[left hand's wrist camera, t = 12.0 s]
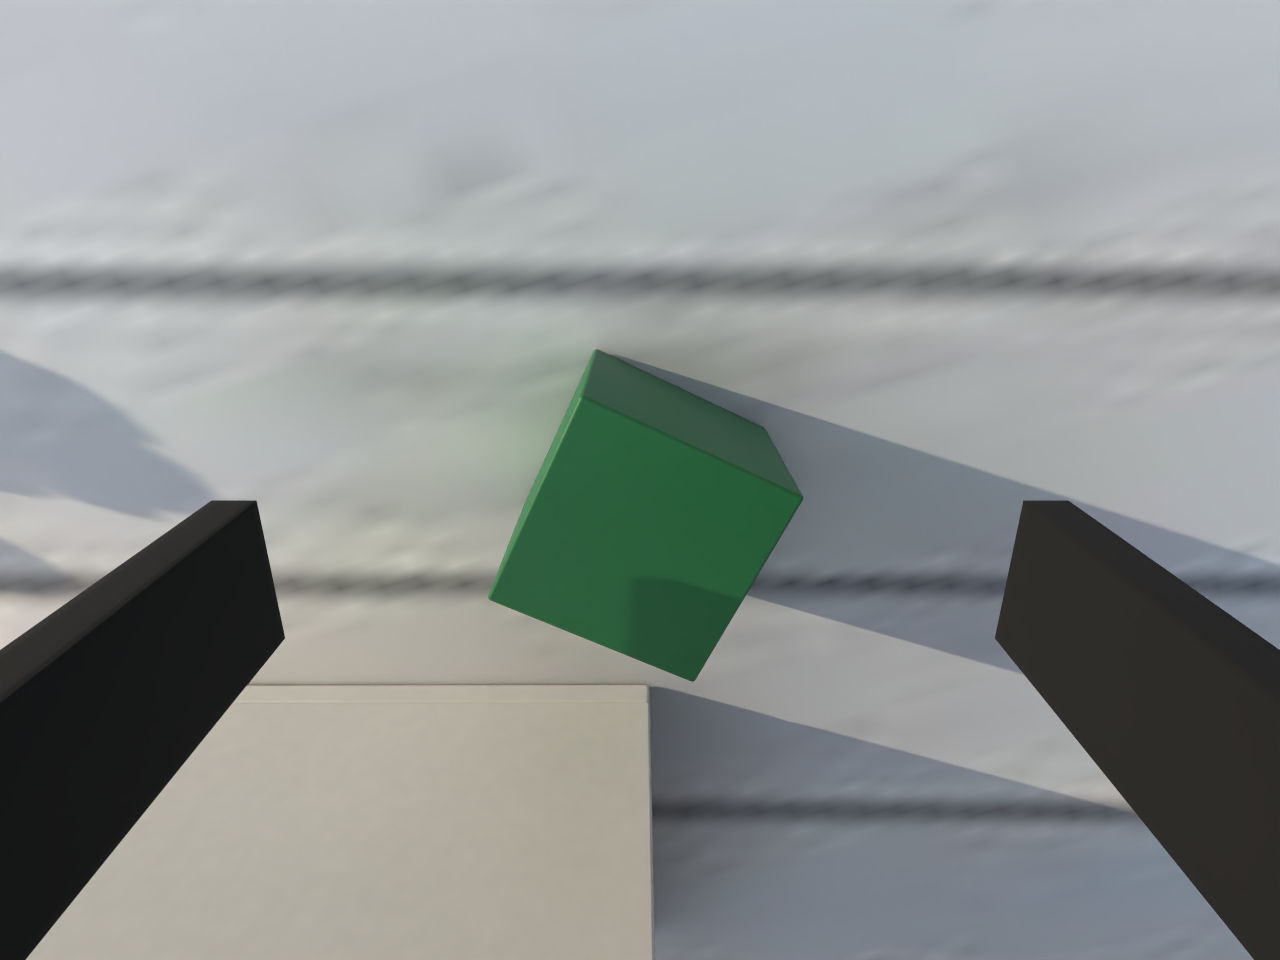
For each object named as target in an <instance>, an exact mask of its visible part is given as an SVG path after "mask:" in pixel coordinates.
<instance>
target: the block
mask: <svg viewBox="0 0 1280 960" xmlns="http://www.w3.org/2000/svg"><path fill="white" fill-rule="evenodd" d="M802 500H803V496H802V494H801V492H800V490H799V489H798V487H797V485H796V483H795V482H794V480H793V478H792V476H791V474H790V473H789V471H788V469H787V467H786V466H785V464H784V462H783V460H782V458H781V457H780V455H779V453H778V451H777V449H776V448H775V446H774V444H773V442H772V441H771V439H770V437H769V435H768V433H767V432H766V430H765V429H764V428H763V427H761V426H759V425H757V424H755V423H753V422H751V421H748V420H746V419H744V418H742V417H740V416H738V415H736V414H734V413H731V412H729V411H727V410H725V409H723V408H721V407H719V406H717V405H714V404H712V403H710V402H708V401H706V400H704V399H702V398H700V397H697V396H695V395H693V394H691V393H689V392H687V391H685V390H683V389H680V388H678V387H676V386H674V385H672V384H670V383H668V382H666V381H663V380H661V379H659V378H657V377H655V376H653V375H651V374H649V373H646V372H644V371H642V370H640V369H638V368H636V367H634V366H632V365H629V364H627V363H625V362H623V361H621V360H619V359H617V358H615V357H612V356H610V355H608V354H606V353H604V352H602V351H600V350H595V351H594V352H593V355H592V357H591V359H590V361H589V363H588V366H587V368H586V370H585V372H584V374H583V377H582V379H581V381H580V383H579V385H578V388H577V390H576V392H575V394H574V397H573V399H572V401H571V403H570V405H569V408H568V410H567V412H566V414H565V416H564V419H563V421H562V423H561V425H560V427H559V430H558V432H557V434H556V436H555V438H554V441H553V443H552V445H551V447H550V449H549V452H548V454H547V456H546V458H545V460H544V463H543V465H542V467H541V469H540V472H539V474H538V476H537V478H536V480H535V483H534V485H533V487H532V489H531V491H530V494H529V496H528V498H527V500H526V502H525V505H524V507H523V509H522V512H521V514H520V517H519V519H518V522H517V524H516V527H515V529H514V532H513V535H512V537H511V540H510V542H509V545H508V547H507V550H506V552H505V555H504V557H503V560H502V563H501V565H500V568H499V570H498V573H497V575H496V578H495V580H494V583H493V585H492V588H491V590H490V593H489V599H490V600H491V601H494V602H496V603H499V604H501V605H504V606H506V607H509V608H511V609H514V610H516V611H518V612H521V613H523V614H526V615H528V616H531V617H533V618H536V619H538V620H541V621H543V622H546V623H548V624H551V625H553V626H556V627H558V628H561V629H563V630H566V631H568V632H570V633H573V634H575V635H578V636H580V637H583V638H585V639H588V640H590V641H593V642H595V643H598V644H600V645H603V646H605V647H608V648H610V649H613V650H615V651H617V652H620V653H622V654H625V655H627V656H630V657H632V658H635V659H637V660H640V661H642V662H645V663H647V664H650V665H652V666H655V667H657V668H660V669H662V670H665V671H667V672H669V673H672V674H674V675H677V676H679V677H682V678H684V679H687V680H689V681H695V679H696V678H697V676H698V674H699V673H700V671H701V669H702V668H703V666H704V664H705V663H706V661H707V659H708V658H709V656H710V654H711V653H712V651H713V649H714V648H715V646H716V644H717V643H718V641H719V639H720V637H721V636H722V634H723V632H724V631H725V629H726V627H727V626H728V624H729V622H730V621H731V619H732V617H733V616H734V614H735V612H736V611H737V609H738V607H739V606H740V604H741V602H742V601H743V599H744V597H745V596H746V594H747V592H748V591H749V589H750V587H751V586H752V584H753V582H754V581H755V579H756V577H757V576H758V574H759V572H760V571H761V569H762V567H763V565H764V564H765V562H766V560H767V559H768V557H769V555H770V554H771V552H772V550H773V549H774V547H775V545H776V544H777V542H778V540H779V539H780V537H781V535H782V534H783V532H784V530H785V529H786V527H787V525H788V524H789V522H790V520H791V519H792V517H793V515H794V514H795V512H796V510H797V509H798V507H799V505H800V504H801V502H802Z"/></svg>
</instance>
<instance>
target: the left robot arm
mask: <svg viewBox="0 0 1280 960" xmlns="http://www.w3.org/2000/svg"><path fill="white" fill-rule="evenodd" d="M284 639H285V636H284V631H283V626H282V621H281V617H280V612H279V607H278V602H277V597H276V593H275V588H274V583H273V578H272V573H271V568H270V564H269V559H268V554H267V549H266V544H265V539H264V535H263V530H262V525H261V520H260V515H259V510H258V506H257V501H211V502H209V503H208V504H206V505H205V506H203V507H202V508H201V509H199V510H198V511H196V512H195V513H194V514H192V515H191V516H189V517H188V518H186V519H185V520H184V521H182V522H181V523H179V524H178V525H177V526H175V527H174V528H172V529H171V530H170V531H168V532H167V533H165V534H164V535H162V536H161V537H160V538H158V539H157V540H155V541H154V542H153V543H151V544H150V545H148V546H147V547H145V548H144V549H143V550H141V551H140V552H138V553H137V554H136V555H134V556H133V557H131V558H130V559H128V560H127V561H126V562H124V563H123V564H121V565H120V566H119V567H117V568H116V569H114V570H113V571H112V572H110V573H109V574H107V575H106V576H104V577H103V578H102V579H100V580H99V581H97V582H96V583H95V584H93V585H92V586H90V587H89V588H87V589H86V590H85V591H83V592H82V593H80V594H79V595H78V596H76V597H75V598H73V599H72V600H70V601H69V602H68V603H66V604H65V605H63V606H62V607H61V608H59V609H58V610H56V611H55V612H54V613H52V614H51V615H49V616H48V617H46V618H45V619H44V620H42V621H41V622H39V623H38V624H37V625H35V626H34V627H32V628H31V629H29V630H28V631H27V632H25V633H24V634H22V635H21V636H20V637H18V638H17V639H15V640H14V641H13V642H11V643H10V644H8V645H7V646H5V647H4V648H3V649H1V650H0V960H26V959H27V957H28V956H29V955H30V954H31V953H32V951H33V950H34V949H35V948H36V946H37V945H38V944H39V943H40V941H41V940H42V939H43V938H44V936H45V935H46V934H47V933H48V931H49V930H50V929H51V928H52V926H53V925H54V924H55V923H56V922H57V920H58V919H59V918H60V917H61V915H62V914H63V913H64V912H65V910H66V909H67V908H68V907H69V905H70V904H71V903H72V902H73V900H74V899H75V898H76V897H77V895H78V894H79V893H80V892H81V891H82V889H83V888H84V887H85V886H86V884H87V883H88V882H89V881H90V879H91V878H92V877H93V876H94V874H95V873H96V872H97V871H98V869H99V868H100V867H101V866H102V864H103V863H104V862H105V861H106V859H107V858H108V857H109V856H110V855H111V853H112V852H113V851H114V850H115V848H116V847H117V846H118V845H119V843H120V842H121V841H122V840H123V838H124V837H125V836H126V835H127V833H128V832H129V831H130V830H131V828H132V827H133V826H134V825H135V824H136V822H137V821H138V820H139V819H140V817H141V816H142V815H143V814H144V812H145V811H146V810H147V809H148V807H149V806H150V805H151V804H152V802H153V801H154V800H155V799H156V797H157V796H158V795H159V794H160V793H161V791H162V790H163V789H164V788H165V786H166V785H167V784H168V783H169V781H170V780H171V779H172V778H173V776H174V775H175V774H176V773H177V771H178V770H179V769H180V768H181V766H182V765H183V764H184V763H185V762H186V760H187V759H188V758H189V757H190V755H191V754H192V753H193V752H194V750H195V749H196V748H197V747H198V745H199V744H200V743H201V742H202V740H203V739H204V738H205V737H206V735H207V734H208V733H209V732H210V731H211V729H212V728H213V727H214V726H215V724H216V723H217V722H218V721H219V719H220V718H221V717H222V716H223V714H224V713H225V712H226V711H227V709H228V708H229V707H230V706H231V704H232V703H233V702H234V701H235V700H236V698H237V697H238V696H239V695H240V693H241V692H242V691H243V690H244V688H245V687H246V686H247V685H248V683H249V682H250V681H251V680H252V678H253V677H254V676H255V675H256V673H257V672H258V671H259V670H260V669H261V667H262V666H263V665H264V664H265V662H266V661H267V660H268V659H269V657H270V656H271V655H272V654H273V652H274V651H275V650H276V649H277V647H278V646H279V645H280V644H281V642H282V641H283V640H284ZM995 639H996V640H997V641H998V642H999V644H1000V645H1001V646H1002V647H1003V649H1004V650H1005V651H1006V652H1007V654H1008V655H1009V656H1010V657H1011V659H1012V660H1013V661H1014V662H1015V664H1016V665H1017V666H1018V667H1019V669H1020V670H1021V671H1022V672H1023V673H1024V675H1025V676H1026V677H1027V678H1028V680H1029V681H1030V682H1031V683H1032V685H1033V686H1034V687H1035V688H1036V690H1037V691H1038V692H1039V693H1040V695H1041V696H1042V697H1043V698H1044V700H1045V701H1046V702H1047V703H1048V704H1049V706H1050V707H1051V708H1052V709H1053V711H1054V712H1055V713H1056V714H1057V716H1058V717H1059V718H1060V719H1061V721H1062V722H1063V723H1064V724H1065V726H1066V727H1067V728H1068V729H1069V731H1070V732H1071V733H1072V734H1073V735H1074V737H1075V738H1076V739H1077V740H1078V742H1079V743H1080V744H1081V745H1082V747H1083V748H1084V749H1085V750H1086V752H1087V753H1088V754H1089V755H1090V757H1091V758H1092V759H1093V760H1094V762H1095V763H1096V764H1097V765H1098V766H1099V768H1100V769H1101V770H1102V771H1103V773H1104V774H1105V775H1106V776H1107V778H1108V779H1109V780H1110V781H1111V783H1112V784H1113V785H1114V786H1115V788H1116V789H1117V790H1118V791H1119V793H1120V794H1121V795H1122V796H1123V797H1124V799H1125V800H1126V801H1127V802H1128V804H1129V805H1130V806H1131V807H1132V809H1133V810H1134V811H1135V812H1136V814H1137V815H1138V816H1139V817H1140V819H1141V820H1142V821H1143V822H1144V824H1145V825H1146V826H1147V827H1148V828H1149V830H1150V831H1151V832H1152V833H1153V835H1154V836H1155V837H1156V838H1157V840H1158V841H1159V842H1160V843H1161V845H1162V846H1163V847H1164V848H1165V850H1166V851H1167V852H1168V853H1169V855H1170V856H1171V857H1172V858H1173V859H1174V861H1175V862H1176V863H1177V864H1178V866H1179V867H1180V868H1181V869H1182V871H1183V872H1184V873H1185V874H1186V876H1187V877H1188V878H1189V879H1190V881H1191V882H1192V883H1193V884H1194V886H1195V887H1196V888H1197V889H1198V891H1199V892H1200V893H1201V894H1202V895H1203V897H1204V898H1205V899H1206V900H1207V902H1208V903H1209V904H1210V905H1211V907H1212V908H1213V909H1214V910H1215V912H1216V913H1217V914H1218V915H1219V917H1220V918H1221V919H1222V920H1223V922H1224V923H1225V924H1226V925H1227V926H1228V928H1229V929H1230V930H1231V931H1232V933H1233V934H1234V935H1235V936H1236V938H1237V939H1238V940H1239V941H1240V943H1241V944H1242V945H1243V946H1244V948H1245V949H1246V950H1247V951H1248V953H1249V954H1250V955H1251V956H1252V957H1253V959H1254V960H1280V650H1279V649H1277V648H1276V647H1275V646H1273V645H1272V644H1270V643H1269V642H1267V641H1266V640H1265V639H1263V638H1262V637H1260V636H1259V635H1258V634H1256V633H1255V632H1253V631H1252V630H1251V629H1249V628H1248V627H1246V626H1245V625H1243V624H1242V623H1241V622H1239V621H1238V620H1236V619H1235V618H1234V617H1232V616H1231V615H1229V614H1228V613H1226V612H1225V611H1224V610H1222V609H1221V608H1219V607H1218V606H1217V605H1215V604H1214V603H1212V602H1211V601H1210V600H1208V599H1207V598H1205V597H1204V596H1202V595H1201V594H1200V593H1198V592H1197V591H1195V590H1194V589H1193V588H1191V587H1190V586H1188V585H1187V584H1185V583H1184V582H1183V581H1181V580H1180V579H1178V578H1177V577H1176V576H1174V575H1173V574H1171V573H1170V572H1168V571H1167V570H1166V569H1164V568H1163V567H1161V566H1160V565H1159V564H1157V563H1156V562H1154V561H1153V560H1152V559H1150V558H1149V557H1147V556H1146V555H1144V554H1143V553H1142V552H1140V551H1139V550H1137V549H1136V548H1135V547H1133V546H1132V545H1130V544H1129V543H1127V542H1126V541H1125V540H1123V539H1122V538H1120V537H1119V536H1118V535H1116V534H1115V533H1113V532H1112V531H1110V530H1109V529H1108V528H1106V527H1105V526H1103V525H1102V524H1101V523H1099V522H1098V521H1096V520H1095V519H1094V518H1092V517H1091V516H1089V515H1088V514H1086V513H1085V512H1084V511H1082V510H1081V509H1079V508H1078V507H1077V506H1075V505H1074V504H1072V503H1071V502H1069V501H1023V506H1022V510H1021V515H1020V520H1019V525H1018V530H1017V535H1016V539H1015V544H1014V549H1013V554H1012V559H1011V564H1010V568H1009V573H1008V578H1007V583H1006V588H1005V593H1004V597H1003V602H1002V607H1001V612H1000V617H999V621H998V626H997V631H996V636H995Z"/></svg>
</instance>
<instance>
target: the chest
mask: <svg viewBox="0 0 1280 960" xmlns="http://www.w3.org/2000/svg"><path fill="white" fill-rule="evenodd" d="M26 960H655V929H654V881H653V832H652V783H651V734H650V688H649V686H648V685H247V686H246V687H245V688H244V690H243V691H242V692H241V693H240V695H239V696H238V697H237V698H236V700H235V701H234V702H233V703H232V704H231V706H230V707H229V708H228V709H227V711H226V712H225V713H224V714H223V716H222V717H221V718H220V719H219V721H218V722H217V723H216V724H215V726H214V727H213V728H212V729H211V731H210V732H209V733H208V734H207V735H206V737H205V738H204V739H203V740H202V742H201V743H200V744H199V745H198V747H197V748H196V749H195V750H194V752H193V753H192V754H191V755H190V757H189V758H188V759H187V760H186V762H185V763H184V764H183V765H182V766H181V768H180V769H179V770H178V771H177V773H176V774H175V775H174V776H173V778H172V779H171V780H170V781H169V783H168V784H167V785H166V786H165V788H164V789H163V790H162V791H161V793H160V794H159V795H158V796H157V797H156V799H155V800H154V801H153V802H152V804H151V805H150V806H149V807H148V809H147V810H146V811H145V812H144V814H143V815H142V816H141V817H140V819H139V820H138V821H137V822H136V824H135V825H134V826H133V827H132V828H131V830H130V831H129V832H128V833H127V835H126V836H125V837H124V838H123V840H122V841H121V842H120V843H119V845H118V846H117V847H116V848H115V850H114V851H113V852H112V853H111V855H110V856H109V857H108V858H107V859H106V861H105V862H104V863H103V864H102V866H101V867H100V868H99V869H98V871H97V872H96V873H95V874H94V876H93V877H92V878H91V879H90V881H89V882H88V883H87V884H86V886H85V887H84V888H83V889H82V891H81V892H80V893H79V894H78V895H77V897H76V898H75V899H74V900H73V902H72V903H71V904H70V905H69V907H68V908H67V909H66V910H65V912H64V913H63V914H62V915H61V917H60V918H59V919H58V920H57V922H56V923H55V924H54V925H53V926H52V928H51V929H50V930H49V931H48V933H47V934H46V935H45V936H44V938H43V939H42V940H41V941H40V943H39V944H38V945H37V946H36V948H35V949H34V950H33V951H32V953H31V954H30V955H29V956H28V957H27V959H26Z"/></svg>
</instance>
